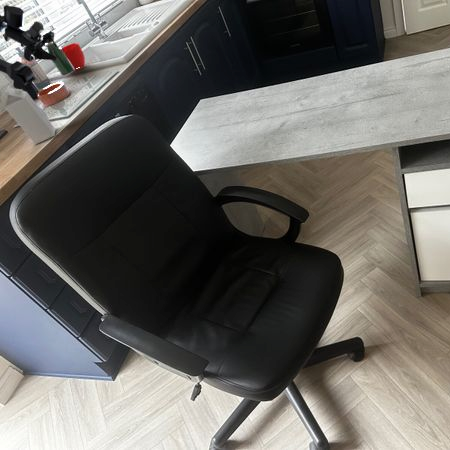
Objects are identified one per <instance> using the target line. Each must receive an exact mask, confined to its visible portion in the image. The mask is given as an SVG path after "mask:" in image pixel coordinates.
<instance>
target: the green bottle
mask: <svg viewBox="0 0 450 450" xmlns="http://www.w3.org/2000/svg"><path fill="white" fill-rule="evenodd" d="M45 45H46V46H47V47H46V48H47V52H48V53H50V54H52V55H53V56H55V57H56V58H57V60H51V62H52V63H53V65H54V66H55V68H56V69H57V71H58V72H59V73H60V75H61V76H67V75H69V74H71V73H74V72H73V71H74V70H75V69H74V67H73V66H72V64H71V63H70V61H69V60H68V58H67V57H66V55H65V54H64V52H63V51H62V49H61V48H62V47H60V48H58V47H57V46H54V44H53V42H52V41H50V42H47V43H46V44H45ZM48 49H49V50H48Z"/></svg>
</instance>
